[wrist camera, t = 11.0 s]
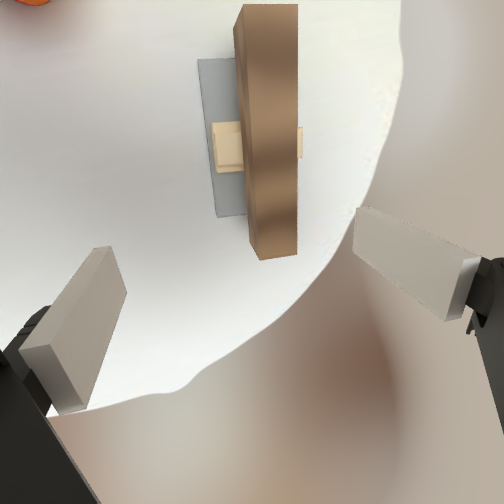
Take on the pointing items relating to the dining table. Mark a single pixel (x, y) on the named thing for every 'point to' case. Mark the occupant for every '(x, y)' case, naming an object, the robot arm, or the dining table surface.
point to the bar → (269, 123)
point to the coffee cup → (33, 2)
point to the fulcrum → (226, 134)
